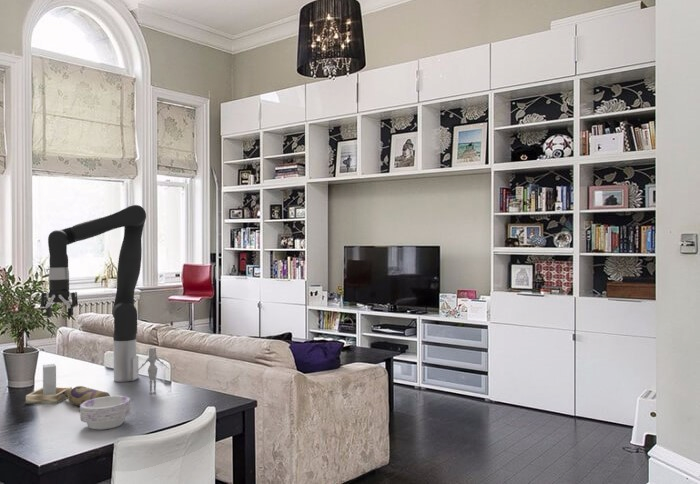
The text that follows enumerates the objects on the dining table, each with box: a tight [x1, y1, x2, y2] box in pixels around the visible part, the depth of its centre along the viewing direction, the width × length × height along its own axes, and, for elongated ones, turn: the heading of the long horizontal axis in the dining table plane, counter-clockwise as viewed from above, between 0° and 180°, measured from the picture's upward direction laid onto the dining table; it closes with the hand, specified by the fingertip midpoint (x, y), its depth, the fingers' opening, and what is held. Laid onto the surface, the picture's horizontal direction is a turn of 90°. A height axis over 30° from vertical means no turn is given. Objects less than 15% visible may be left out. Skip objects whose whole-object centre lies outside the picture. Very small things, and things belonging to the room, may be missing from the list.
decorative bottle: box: [63, 385, 111, 407], centre depth 215 cm, size 26×8×7 cm, turn 53°
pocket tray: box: [25, 386, 73, 405], centre depth 223 cm, size 12×12×3 cm
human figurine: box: [137, 347, 169, 395], centre depth 229 cm, size 12×4×18 cm, turn 117°
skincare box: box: [42, 363, 57, 395], centre depth 223 cm, size 6×4×12 cm
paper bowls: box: [79, 395, 131, 431], centre depth 191 cm, size 15×15×8 cm
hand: (59, 317), depth 245 cm, fingers open, 8 cm apart
